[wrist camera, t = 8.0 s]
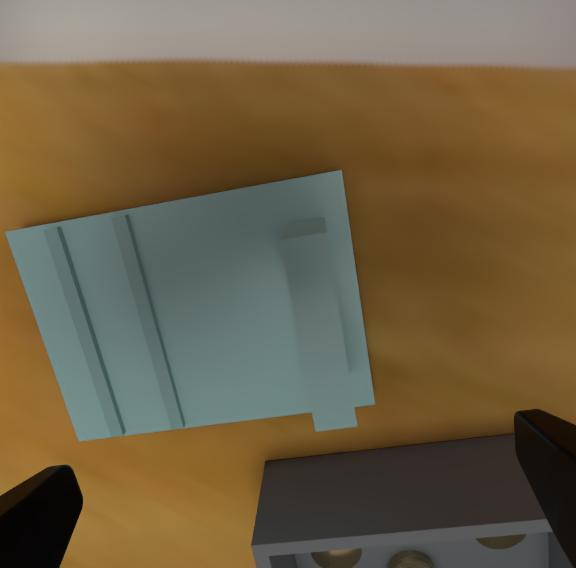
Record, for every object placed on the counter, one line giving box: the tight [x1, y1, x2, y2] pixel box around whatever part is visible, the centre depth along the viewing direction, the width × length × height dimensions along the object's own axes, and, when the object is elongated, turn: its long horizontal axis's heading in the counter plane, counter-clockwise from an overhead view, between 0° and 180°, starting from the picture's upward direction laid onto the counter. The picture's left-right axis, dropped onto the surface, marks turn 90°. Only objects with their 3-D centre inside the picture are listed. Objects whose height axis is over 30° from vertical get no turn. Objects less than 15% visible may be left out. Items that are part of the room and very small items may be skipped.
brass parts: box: [311, 534, 526, 568], centre depth 21 cm, size 10×6×2 cm, turn 100°
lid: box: [5, 170, 375, 441], centre depth 17 cm, size 14×10×6 cm
